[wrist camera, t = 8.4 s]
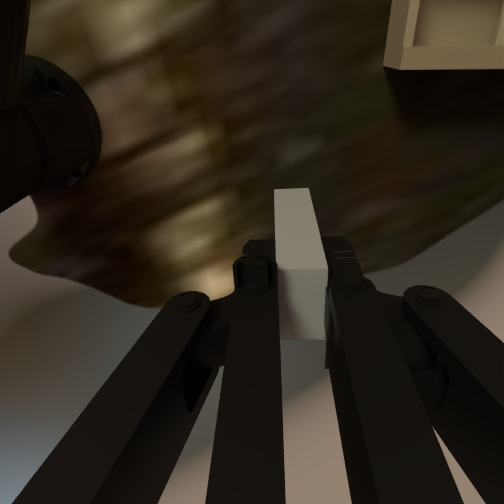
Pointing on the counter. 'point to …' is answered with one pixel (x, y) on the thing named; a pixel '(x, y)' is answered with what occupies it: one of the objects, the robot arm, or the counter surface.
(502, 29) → the lid
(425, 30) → the box
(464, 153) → the counter surface
